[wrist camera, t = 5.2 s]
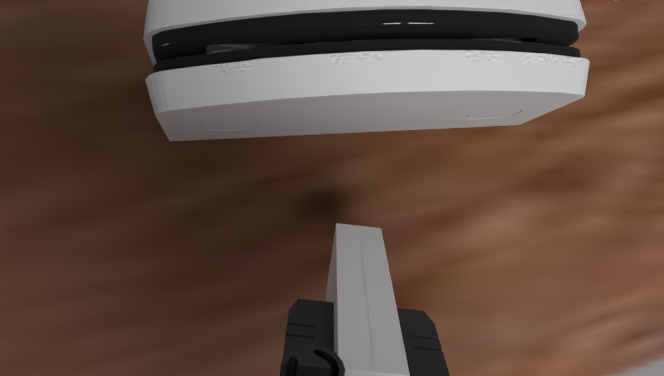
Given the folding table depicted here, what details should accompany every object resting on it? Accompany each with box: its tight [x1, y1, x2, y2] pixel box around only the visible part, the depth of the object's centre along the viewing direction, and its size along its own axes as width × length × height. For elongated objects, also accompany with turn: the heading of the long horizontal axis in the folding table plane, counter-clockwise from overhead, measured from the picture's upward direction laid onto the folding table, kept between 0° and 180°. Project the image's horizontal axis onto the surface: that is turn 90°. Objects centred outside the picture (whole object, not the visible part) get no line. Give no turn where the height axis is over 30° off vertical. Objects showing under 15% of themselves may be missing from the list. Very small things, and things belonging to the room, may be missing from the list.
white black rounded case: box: [143, 0, 590, 141], centre depth 19 cm, size 17×5×10 cm, turn 96°
